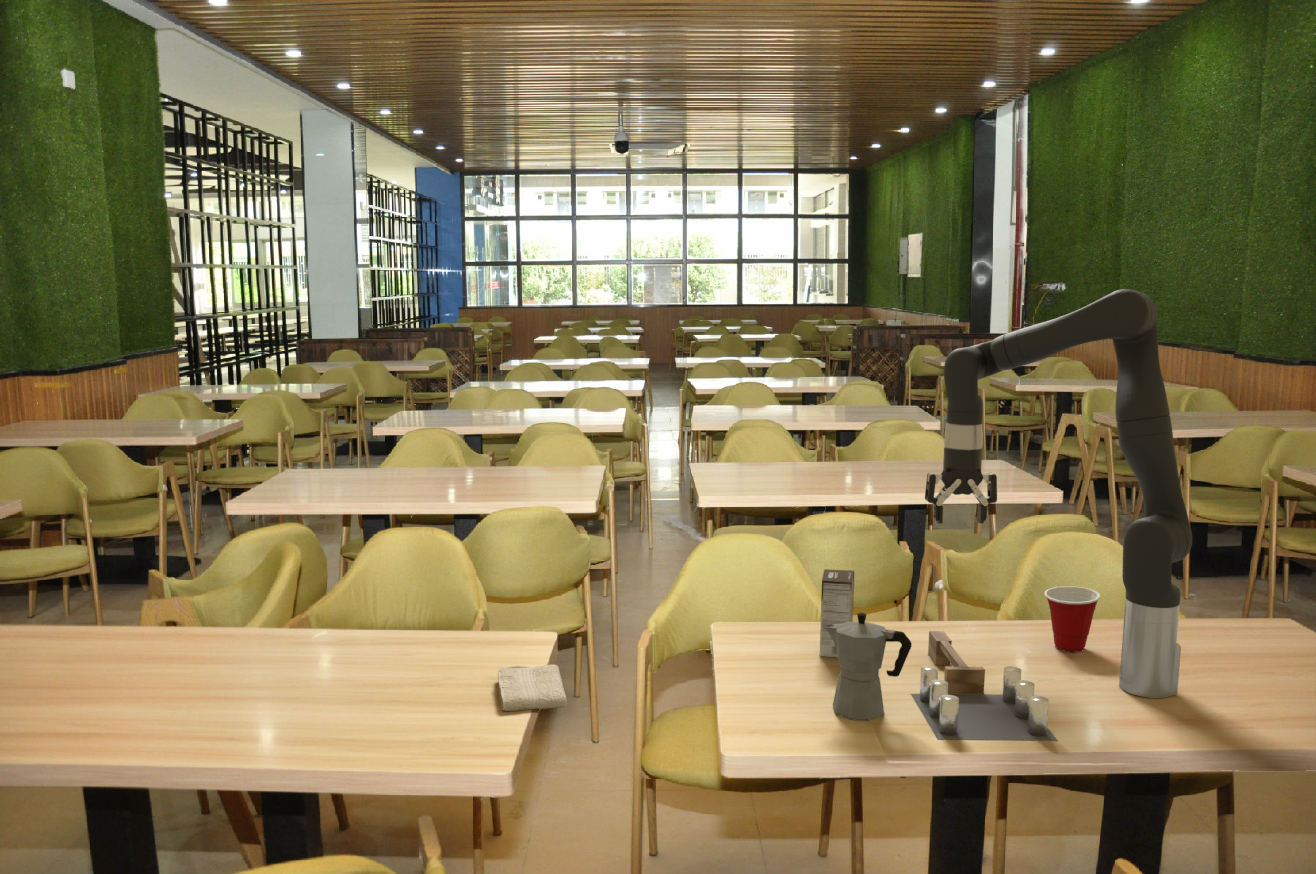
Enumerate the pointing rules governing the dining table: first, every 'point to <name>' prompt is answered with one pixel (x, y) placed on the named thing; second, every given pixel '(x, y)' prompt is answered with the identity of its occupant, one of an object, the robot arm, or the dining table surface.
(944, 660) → the wooden mallet
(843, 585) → the coffee box
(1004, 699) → the steel spacers
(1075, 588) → the plastic cup
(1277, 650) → the dining table surface
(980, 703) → the spacer mat
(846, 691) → the coffeepot
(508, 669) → the washcloth
